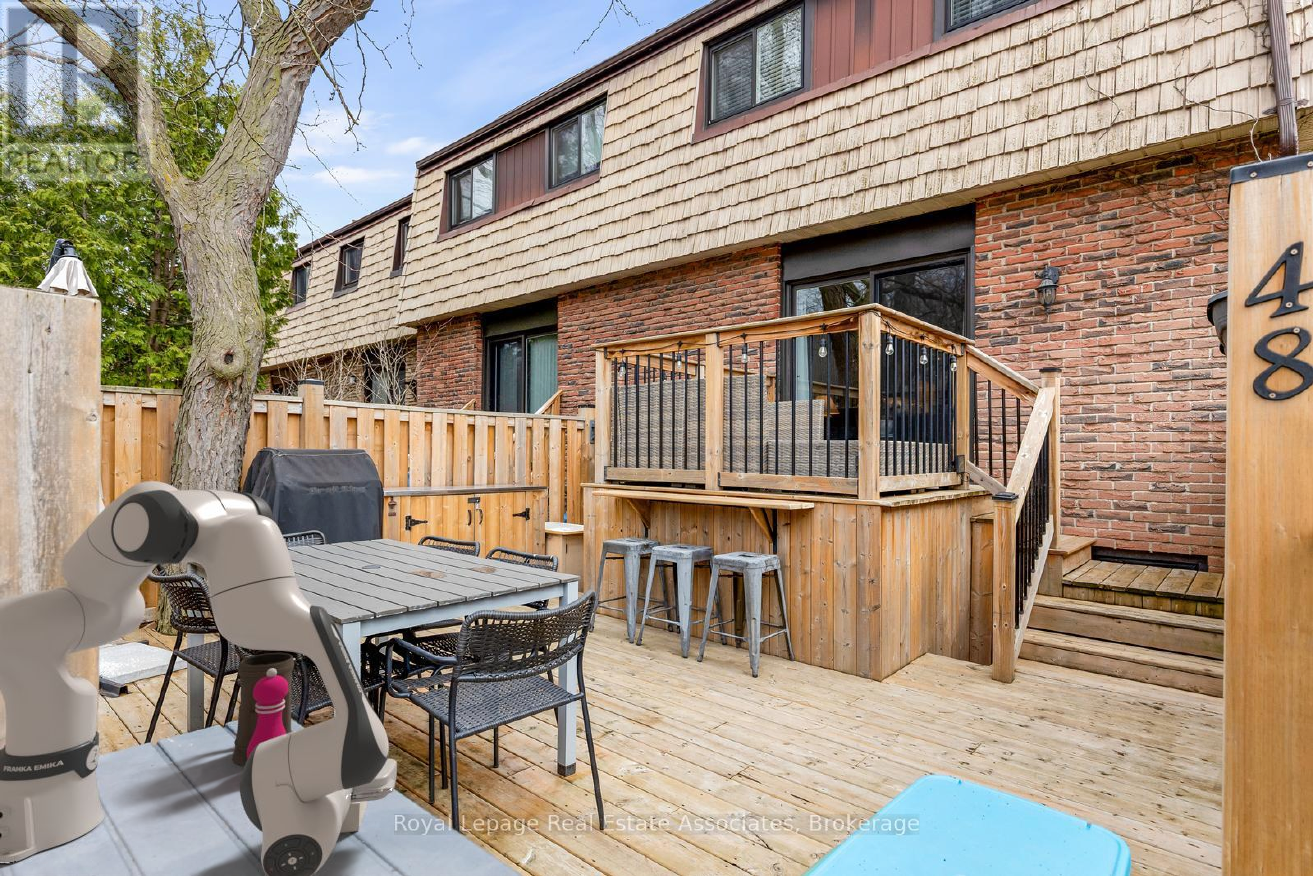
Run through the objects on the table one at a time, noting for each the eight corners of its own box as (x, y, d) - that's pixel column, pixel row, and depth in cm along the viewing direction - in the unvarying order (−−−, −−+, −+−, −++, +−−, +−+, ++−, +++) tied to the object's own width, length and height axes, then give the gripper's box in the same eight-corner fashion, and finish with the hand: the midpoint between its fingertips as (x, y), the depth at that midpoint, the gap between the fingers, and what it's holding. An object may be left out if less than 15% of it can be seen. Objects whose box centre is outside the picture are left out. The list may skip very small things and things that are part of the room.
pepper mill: (269, 783, 127) (273, 675, 128) (236, 779, 129) (241, 672, 129) (297, 766, 134) (301, 664, 135) (265, 762, 136) (269, 661, 136)
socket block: (299, 837, 110) (300, 809, 110) (312, 809, 118) (313, 783, 118) (358, 830, 112) (359, 803, 112) (367, 804, 121) (368, 778, 121)
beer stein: (301, 756, 139) (303, 656, 140) (242, 772, 131) (245, 666, 133) (276, 738, 149) (278, 646, 151) (220, 753, 141) (222, 655, 143)
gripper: (393, 773, 106) (403, 737, 119) (246, 786, 100) (274, 747, 114) (392, 814, 105) (401, 774, 119) (244, 829, 100) (272, 785, 114)
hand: (338, 761), depth 116 cm, fingers open, 8 cm apart
